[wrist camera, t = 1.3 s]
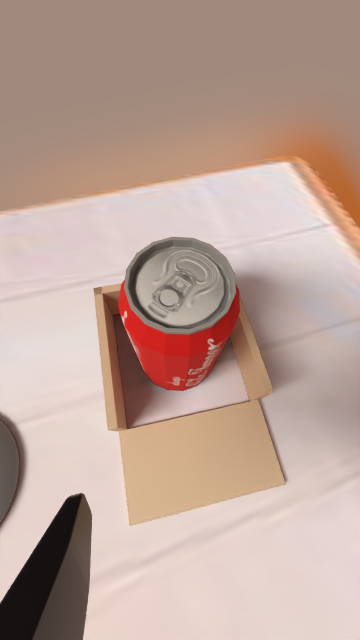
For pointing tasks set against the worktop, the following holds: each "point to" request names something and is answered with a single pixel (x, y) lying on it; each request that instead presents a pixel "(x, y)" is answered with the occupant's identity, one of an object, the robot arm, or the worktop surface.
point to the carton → (190, 434)
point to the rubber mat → (8, 469)
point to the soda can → (179, 309)
